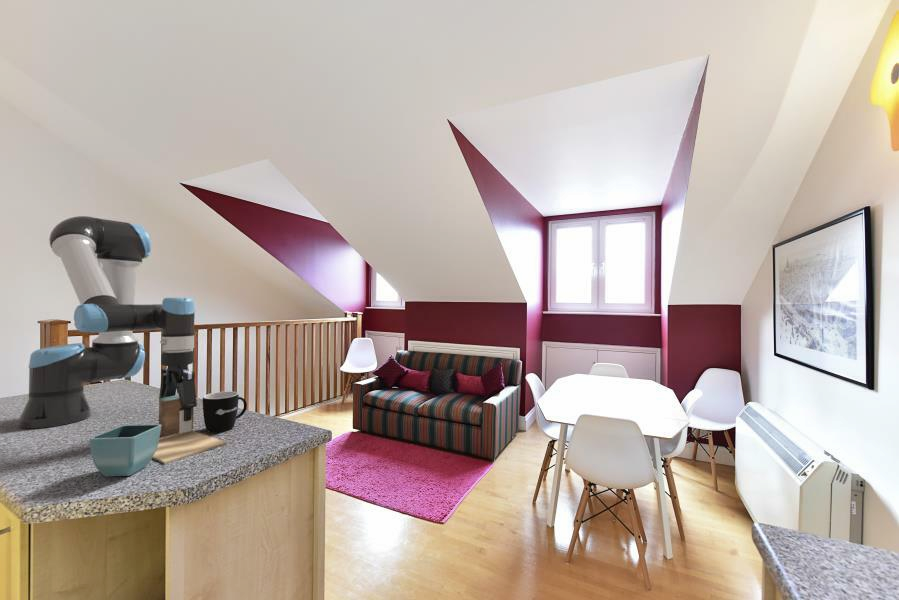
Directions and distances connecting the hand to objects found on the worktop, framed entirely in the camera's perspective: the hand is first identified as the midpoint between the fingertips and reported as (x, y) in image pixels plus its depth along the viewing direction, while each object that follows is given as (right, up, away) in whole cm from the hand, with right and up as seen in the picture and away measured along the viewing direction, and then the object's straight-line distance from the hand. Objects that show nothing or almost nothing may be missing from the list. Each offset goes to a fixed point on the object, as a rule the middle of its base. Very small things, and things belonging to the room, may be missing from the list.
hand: (177, 429), depth 104 cm
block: (0, -1, 0) cm, 1 cm away
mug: (+12, -1, +4) cm, 12 cm away
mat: (+8, -1, -11) cm, 13 cm away
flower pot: (+8, -1, -25) cm, 26 cm away
